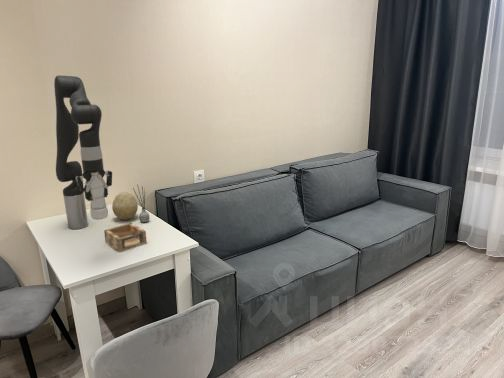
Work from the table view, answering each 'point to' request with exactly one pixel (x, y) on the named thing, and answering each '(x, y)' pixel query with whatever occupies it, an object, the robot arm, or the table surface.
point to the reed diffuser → (143, 209)
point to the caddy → (125, 237)
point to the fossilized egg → (124, 206)
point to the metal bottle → (97, 198)
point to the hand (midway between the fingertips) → (97, 198)
